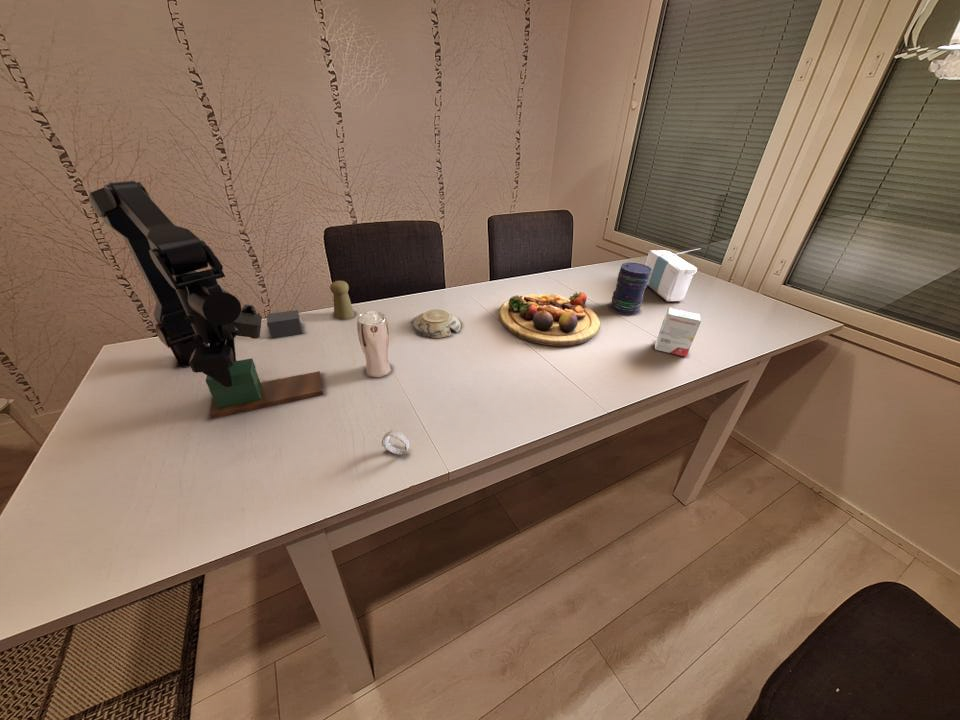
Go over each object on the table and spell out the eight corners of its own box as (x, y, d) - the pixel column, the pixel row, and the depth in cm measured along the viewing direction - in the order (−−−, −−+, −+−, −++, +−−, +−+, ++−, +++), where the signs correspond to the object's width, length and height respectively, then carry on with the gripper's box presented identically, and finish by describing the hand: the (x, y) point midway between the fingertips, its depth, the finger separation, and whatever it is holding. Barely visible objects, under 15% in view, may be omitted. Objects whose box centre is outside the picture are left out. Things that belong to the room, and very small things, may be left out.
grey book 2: (271, 338, 103) (269, 330, 102) (271, 329, 107) (269, 321, 106) (302, 333, 106) (300, 326, 105) (301, 324, 110) (299, 317, 109)
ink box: (686, 349, 109) (701, 313, 102) (686, 357, 105) (702, 321, 98) (655, 341, 112) (668, 306, 105) (654, 349, 108) (667, 313, 101)
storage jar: (641, 307, 131) (655, 266, 123) (635, 317, 124) (648, 275, 116) (614, 300, 135) (624, 260, 127) (606, 309, 128) (617, 268, 120)
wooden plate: (567, 296, 136) (571, 274, 132) (619, 339, 112) (627, 315, 107) (485, 304, 127) (487, 282, 122) (523, 354, 102) (526, 328, 98)
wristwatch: (389, 443, 73) (386, 425, 71) (412, 450, 72) (410, 431, 69) (382, 454, 71) (379, 436, 68) (405, 461, 70) (403, 442, 67)
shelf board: (210, 418, 77) (208, 414, 76) (215, 395, 83) (213, 391, 82) (323, 394, 85) (322, 390, 84) (320, 375, 91) (319, 371, 90)
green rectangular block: (209, 390, 75) (205, 380, 73) (213, 374, 79) (209, 365, 77) (254, 381, 78) (250, 372, 76) (255, 367, 82) (252, 357, 80)
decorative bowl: (426, 311, 121) (402, 331, 110) (426, 300, 119) (401, 319, 108) (468, 321, 117) (447, 343, 105) (468, 310, 115) (447, 332, 103)
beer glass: (367, 381, 89) (359, 327, 81) (361, 366, 94) (352, 313, 86) (396, 374, 92) (390, 321, 84) (388, 360, 97) (382, 308, 89)
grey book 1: (269, 330, 102) (266, 322, 100) (269, 321, 106) (267, 313, 104) (300, 326, 105) (298, 318, 103) (299, 317, 109) (297, 309, 107)
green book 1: (213, 399, 76) (209, 390, 75) (217, 384, 80) (212, 374, 79) (257, 391, 79) (253, 381, 78) (258, 376, 83) (255, 367, 82)
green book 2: (218, 408, 77) (213, 399, 76) (221, 392, 82) (217, 384, 80) (260, 400, 80) (257, 391, 79) (261, 385, 85) (258, 376, 83)
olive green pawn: (348, 320, 113) (342, 287, 107) (330, 318, 114) (323, 284, 108) (357, 312, 118) (352, 279, 112) (340, 309, 119) (334, 277, 113)
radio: (638, 281, 152) (654, 231, 141) (657, 281, 153) (674, 232, 142) (665, 303, 135) (684, 249, 124) (685, 303, 136) (707, 249, 125)
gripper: (249, 322, 65) (273, 391, 73) (254, 282, 78) (274, 344, 87) (172, 333, 61) (207, 404, 69) (192, 288, 74) (219, 353, 83)
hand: (231, 373), depth 77 cm, fingers open, 9 cm apart
